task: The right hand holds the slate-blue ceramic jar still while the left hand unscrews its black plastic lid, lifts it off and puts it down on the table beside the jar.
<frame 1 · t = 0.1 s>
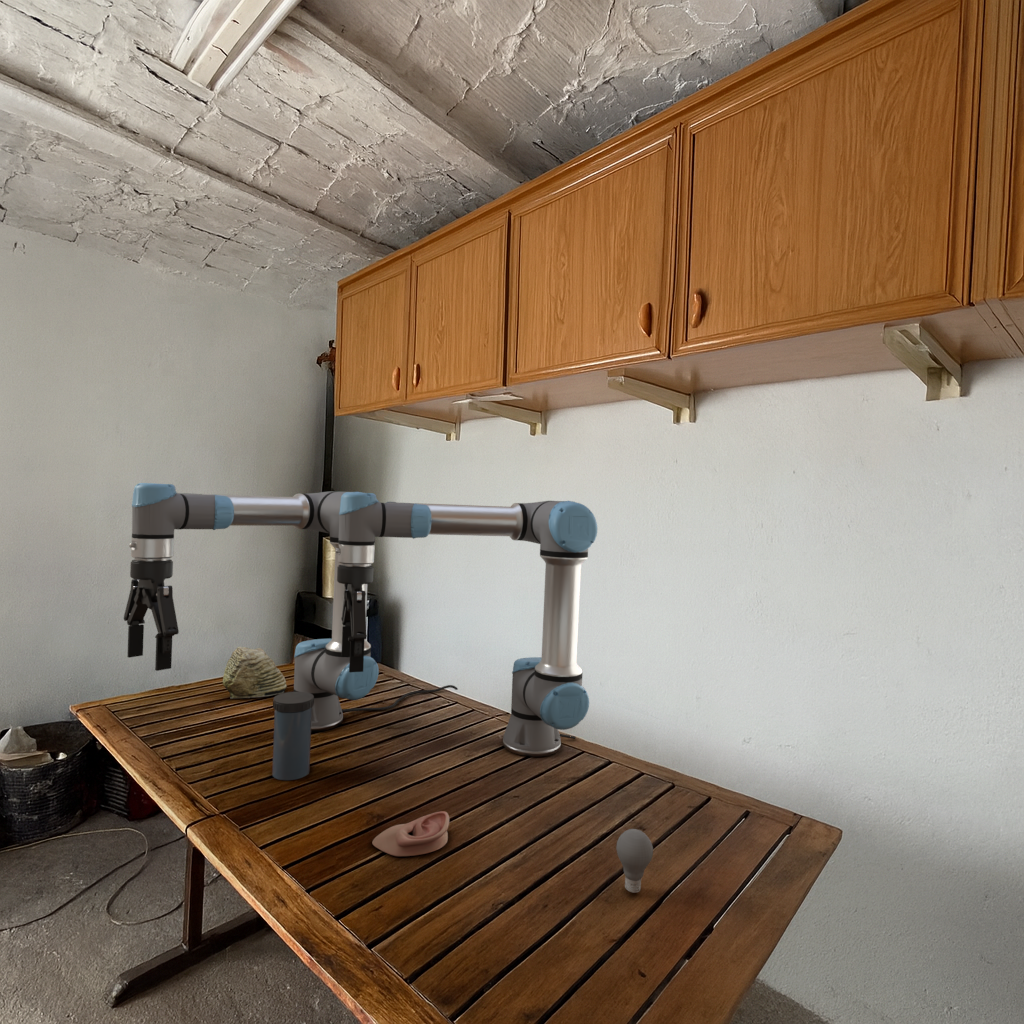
left hand: (148, 662, 129), 28 cm above the table, tool pointing down, fingers open, 13 cm apart
right hand: (351, 663, 136), 28 cm above the table, tool pointing down, fingers open, 13 cm apart
light bulb: (632, 891, 106), on the table
anatomical model: (411, 841, 118), on the table
lid: (293, 698, 144), point 17 cm above the table, screwed on, not yet turned
jar: (291, 772, 145), on the table
fossil: (254, 694, 198), on the table
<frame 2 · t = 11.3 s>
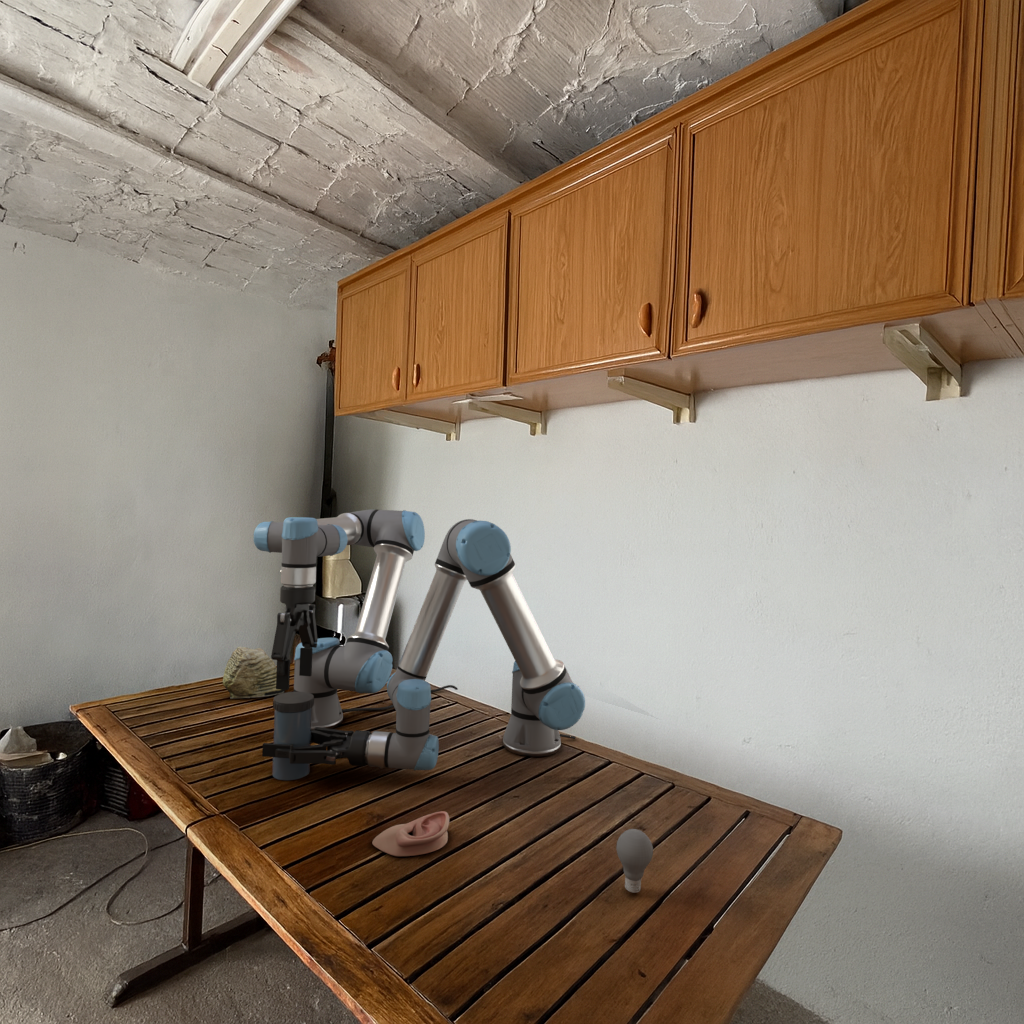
left hand: (294, 682, 144), 21 cm above the table, tool pointing down, fingers open, 10 cm apart
right hand: (271, 742, 145), 7 cm above the table, tool horizontal, fingers closed on jar, 8 cm apart
jar: (291, 772, 145), on the table, touching right hand
everything else where it was.
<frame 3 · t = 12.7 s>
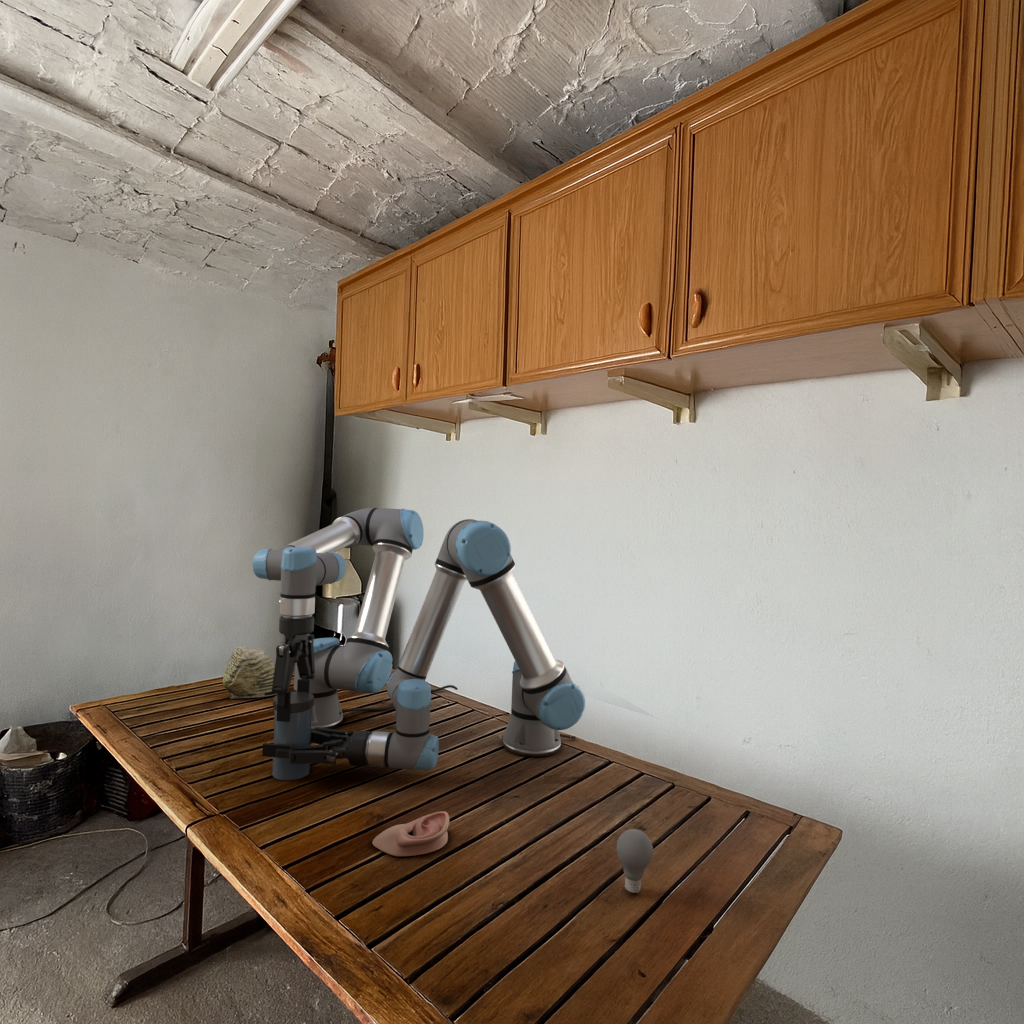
left hand: (293, 713, 144), 14 cm above the table, tool pointing down, fingers closed on lid, 9 cm apart
right hand: (271, 742, 145), 7 cm above the table, tool horizontal, fingers closed on jar, 8 cm apart
lid: (293, 698, 144), point 17 cm above the table, screwed on, not yet turned, touching left hand
jar: (291, 772, 145), on the table, touching right hand
everything else where it was.
when the left hand's fingers open (14 cm above the table, at t = 14.0 s): lid stays where it is, point 17 cm above the table.
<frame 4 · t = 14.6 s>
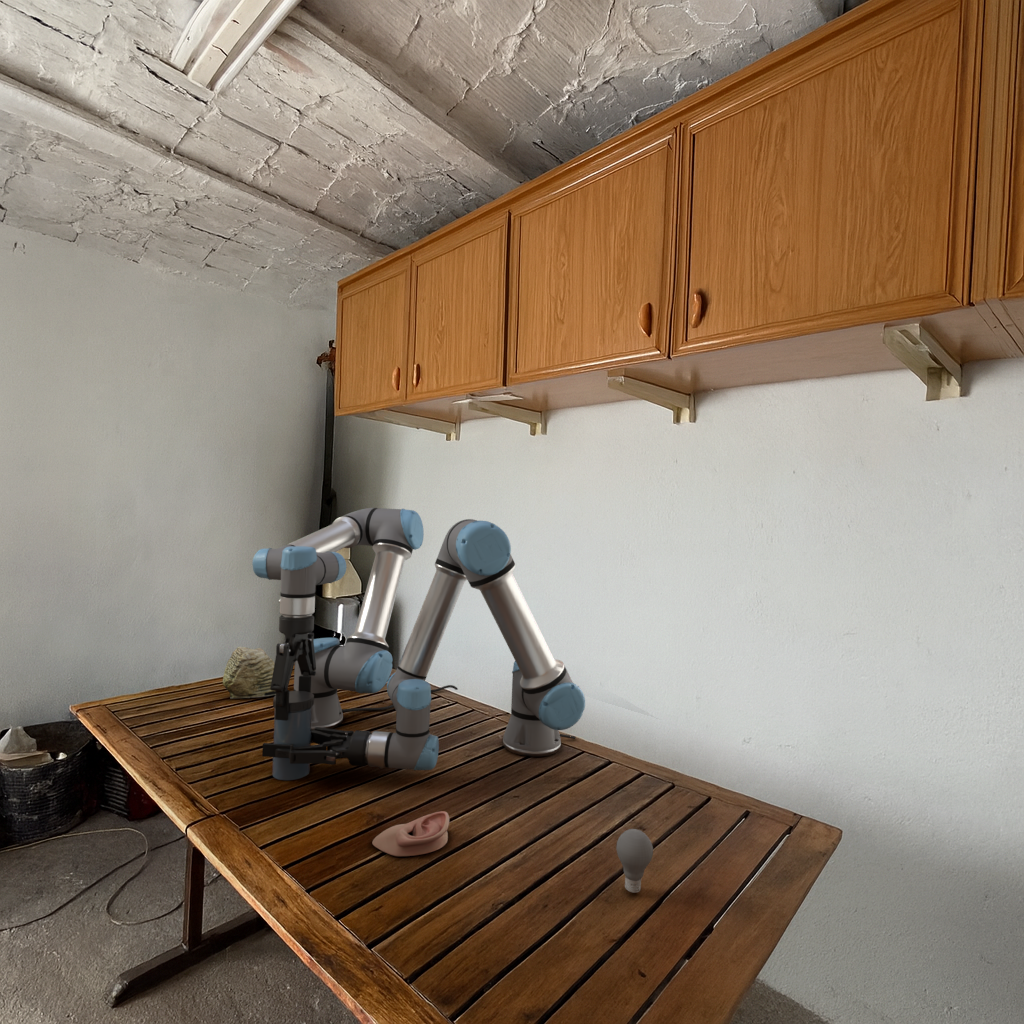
left hand: (293, 711, 144), 14 cm above the table, tool pointing down, fingers open, 10 cm apart
right hand: (271, 742, 145), 7 cm above the table, tool horizontal, fingers closed on jar, 8 cm apart
lid: (293, 698, 144), point 17 cm above the table, turned 68° so far, risen 0.2 cm, still on its thread
jar: (291, 772, 145), on the table, touching right hand
everything else where it was.
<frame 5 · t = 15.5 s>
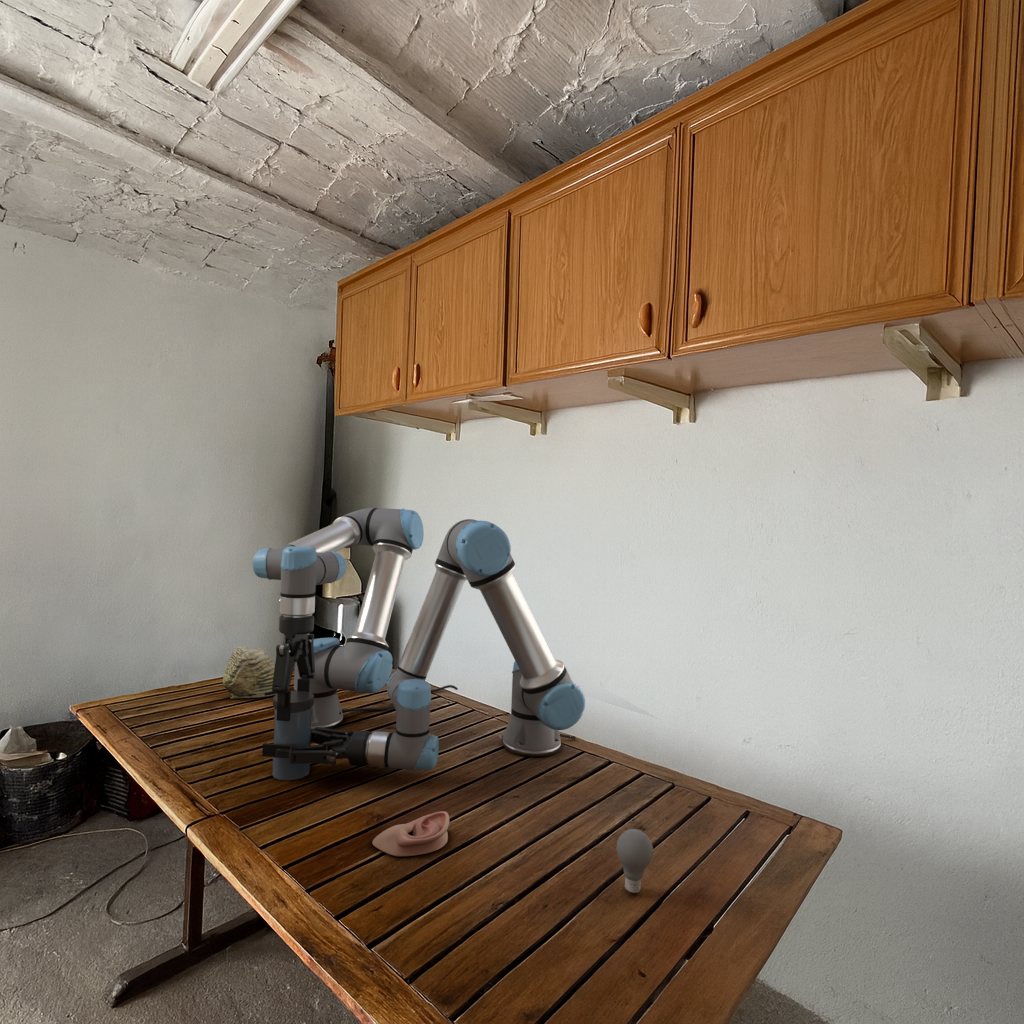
left hand: (293, 713, 144), 14 cm above the table, tool pointing down, fingers closed on lid, 9 cm apart
right hand: (271, 742, 145), 7 cm above the table, tool horizontal, fingers closed on jar, 8 cm apart
lid: (293, 698, 144), point 17 cm above the table, turned 68° so far, risen 0.2 cm, still on its thread, touching left hand
jar: (291, 772, 145), on the table, touching right hand
everything else where it was.
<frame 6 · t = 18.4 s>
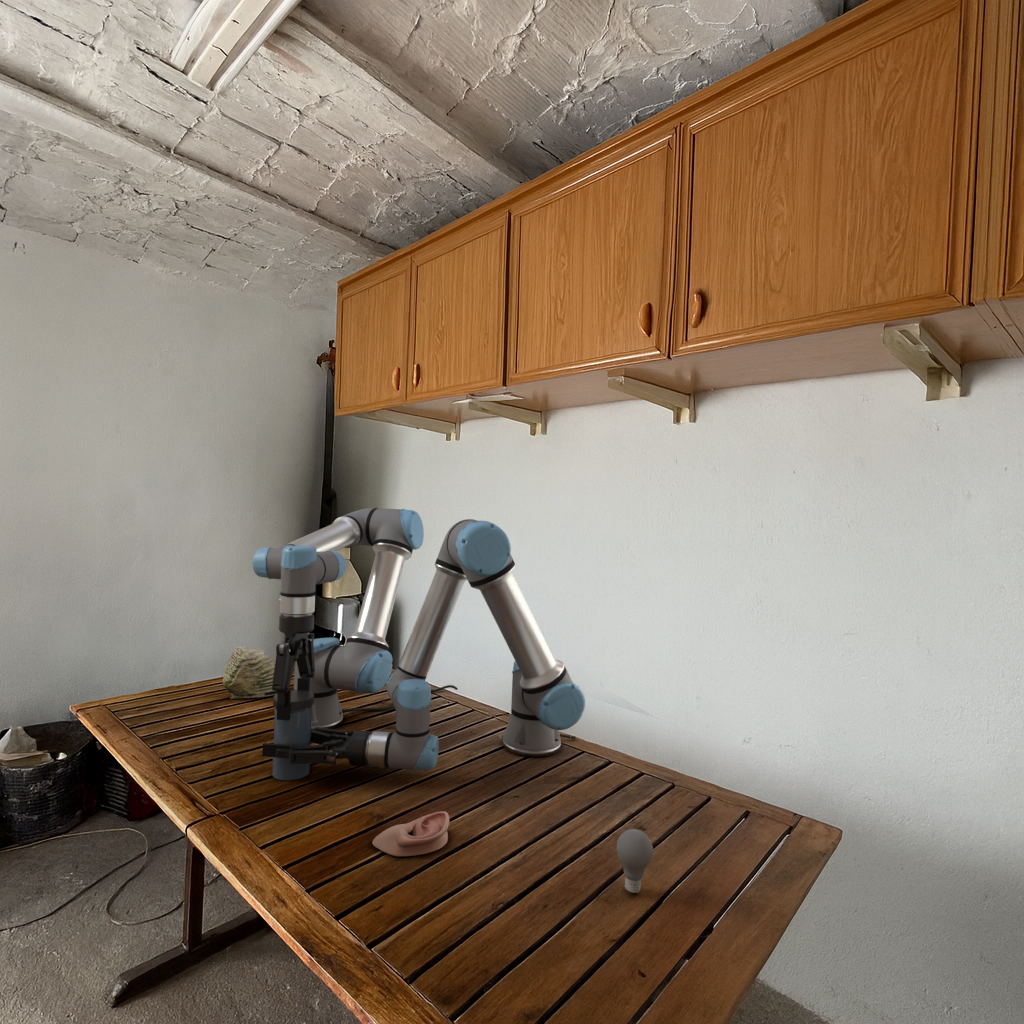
left hand: (293, 712, 144), 14 cm above the table, tool pointing down, fingers closed on lid, 9 cm apart
right hand: (271, 742, 145), 7 cm above the table, tool horizontal, fingers closed on jar, 8 cm apart
lid: (293, 697, 144), point 17 cm above the table, turned 136° so far, risen 0.4 cm, still on its thread, touching left hand
jar: (291, 772, 145), on the table, touching right hand
everything else where it was.
when the left hand's fingers open (0 cm above the table, at t = 25.3 s): lid drops 2 cm, point 2 cm above the table.
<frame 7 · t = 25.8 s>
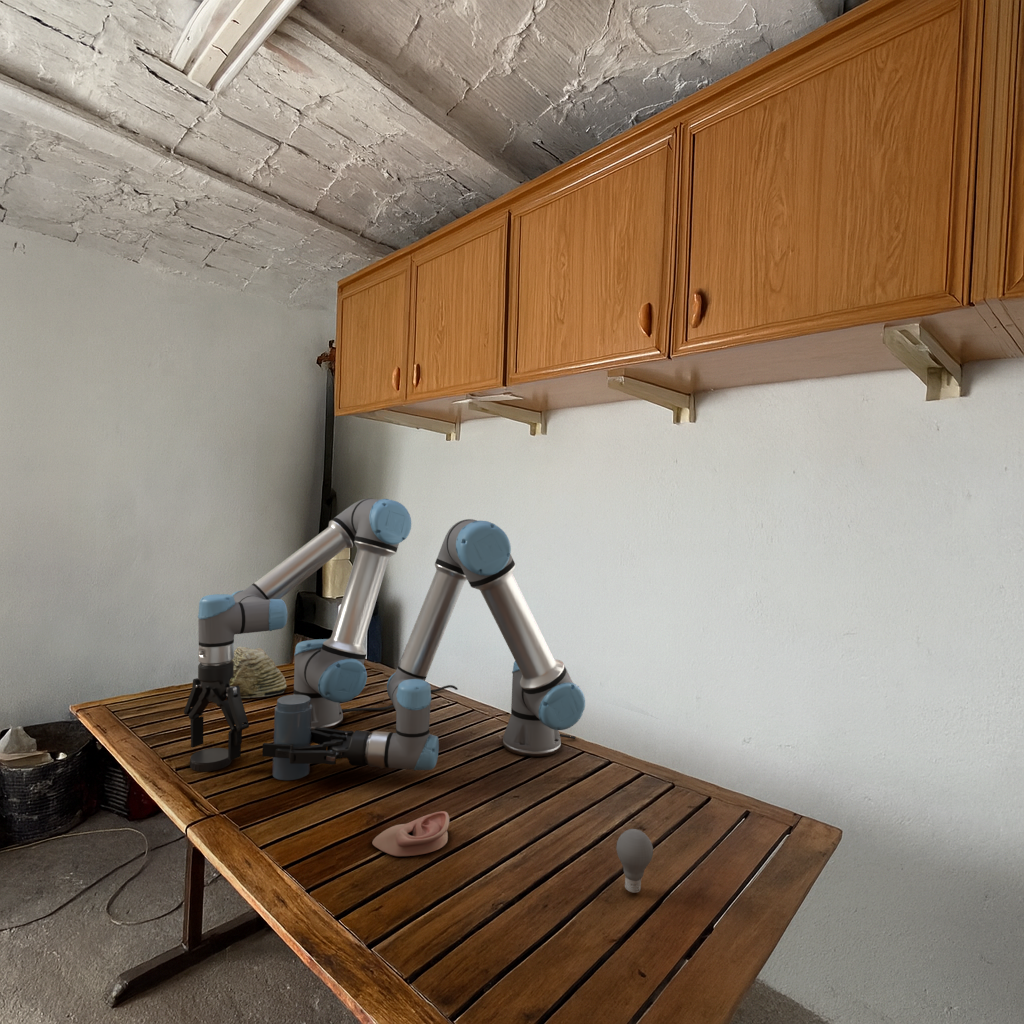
left hand: (215, 751, 148), 3 cm above the table, tool pointing down, fingers open, 13 cm apart
right hand: (271, 742, 145), 7 cm above the table, tool horizontal, fingers closed on jar, 8 cm apart
lid: (211, 756, 147), point 2 cm above the table, off its thread
jar: (291, 772, 145), on the table, touching right hand
everything else where it was.
when the right hand's fingers open (7 cm above the table, at t = 26.3 s): jar stays where it is, on the table.
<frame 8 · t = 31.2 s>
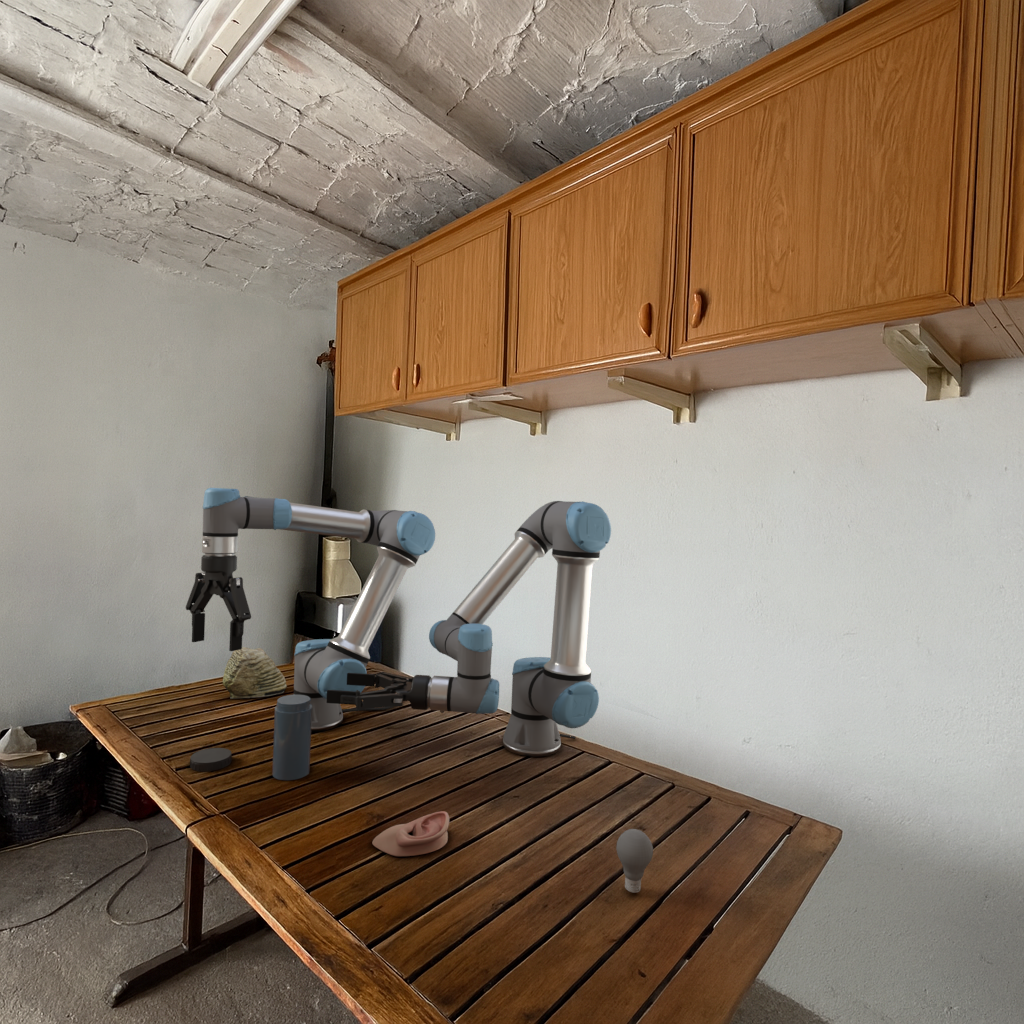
left hand: (216, 645, 147), 28 cm above the table, tool pointing down, fingers open, 13 cm apart
right hand: (337, 687, 144), 20 cm above the table, tool horizontal, fingers open, 13 cm apart
jar: (291, 772, 145), on the table
everything else where it was.
at the end: lid came off its thread; lid point 1.7 cm above the table; the left hand is holding nothing; the right hand is holding nothing; jar tilted 0°; jar moved 0.0 cm from its start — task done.
